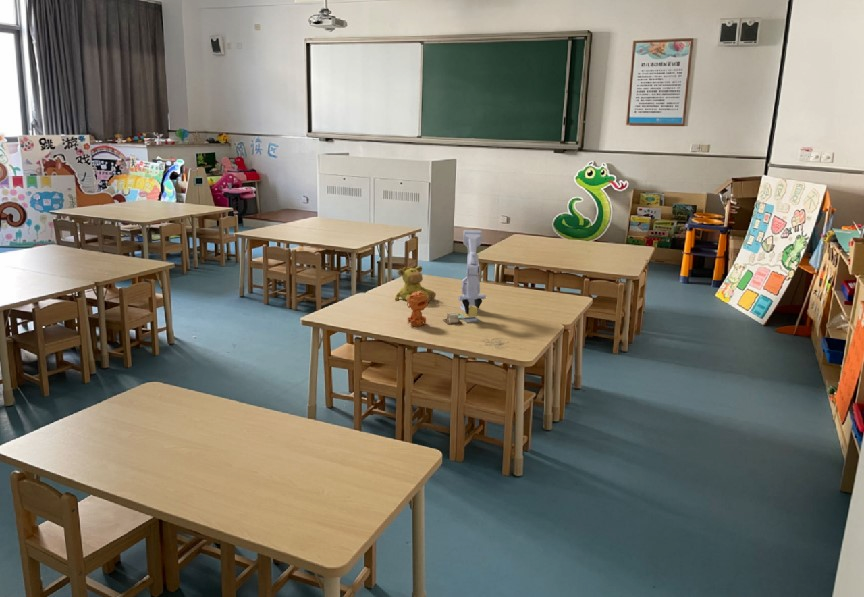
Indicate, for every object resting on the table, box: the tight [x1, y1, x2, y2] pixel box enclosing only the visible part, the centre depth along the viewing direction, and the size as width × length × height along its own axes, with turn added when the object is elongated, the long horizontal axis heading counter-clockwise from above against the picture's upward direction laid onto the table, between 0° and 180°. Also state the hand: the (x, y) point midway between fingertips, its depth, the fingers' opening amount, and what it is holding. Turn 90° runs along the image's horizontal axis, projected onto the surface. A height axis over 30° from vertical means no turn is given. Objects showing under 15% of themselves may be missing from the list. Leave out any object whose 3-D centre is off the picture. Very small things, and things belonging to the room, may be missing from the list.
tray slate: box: [461, 316, 482, 324], centre depth 348 cm, size 8×8×1 cm
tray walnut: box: [442, 318, 463, 326], centre depth 344 cm, size 8×8×1 cm
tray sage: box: [457, 312, 466, 320], centre depth 353 cm, size 8×8×1 cm
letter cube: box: [465, 306, 478, 317], centre depth 347 cm, size 4×4×5 cm
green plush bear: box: [394, 265, 437, 302], centre depth 384 cm, size 20×24×19 cm
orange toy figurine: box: [406, 290, 430, 327], centre depth 337 cm, size 11×11×18 cm
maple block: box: [446, 311, 459, 323], centre depth 344 cm, size 4×4×4 cm
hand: (471, 313), depth 347 cm, fingers closed on letter cube, 4 cm apart
